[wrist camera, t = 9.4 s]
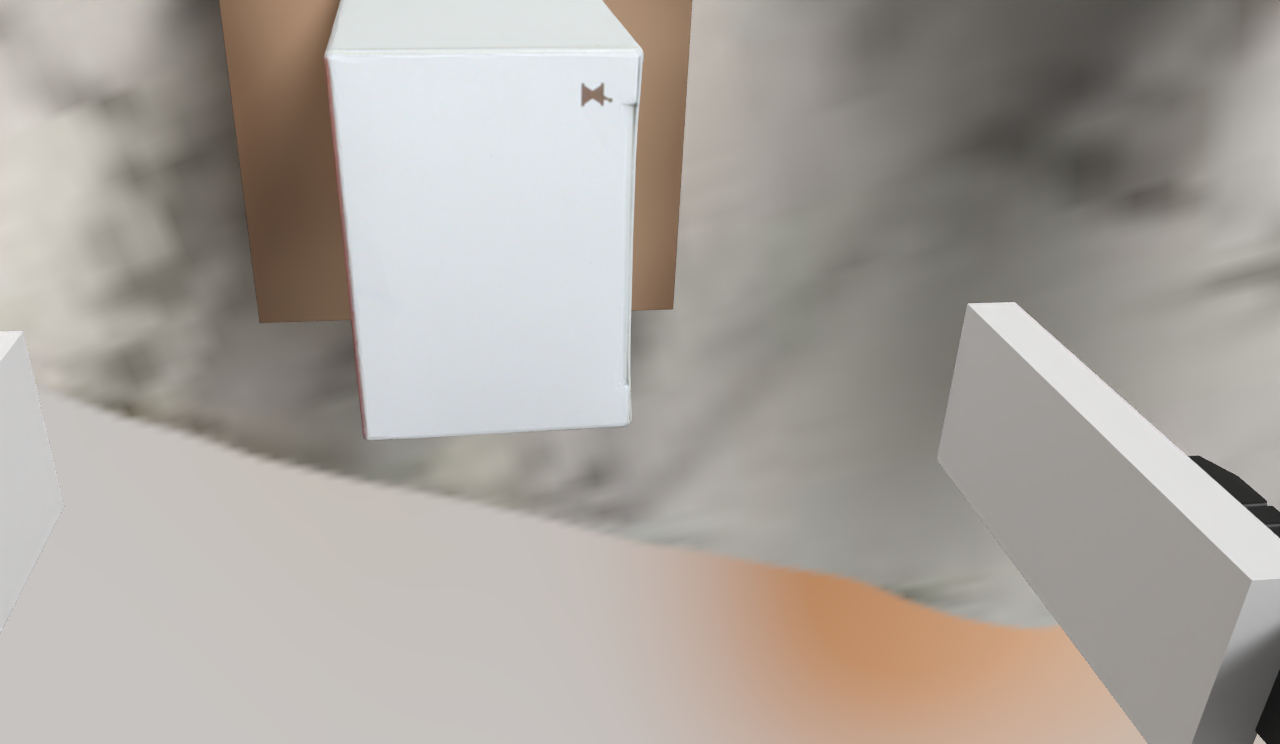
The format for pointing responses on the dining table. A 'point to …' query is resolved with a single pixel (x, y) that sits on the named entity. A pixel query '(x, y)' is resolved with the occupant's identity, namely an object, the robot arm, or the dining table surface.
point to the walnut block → (305, 167)
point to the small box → (486, 212)
